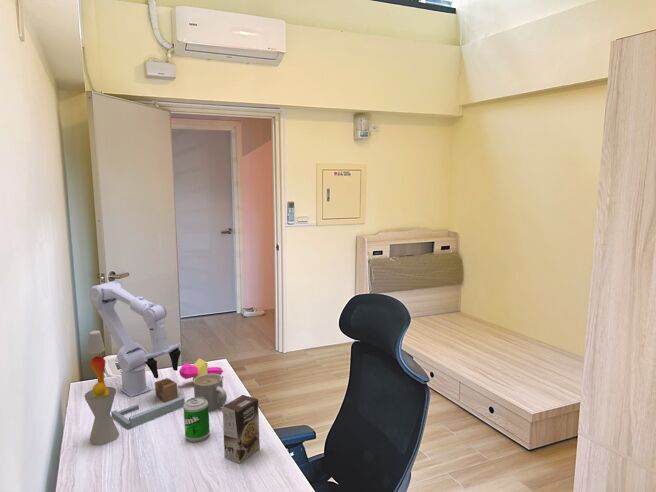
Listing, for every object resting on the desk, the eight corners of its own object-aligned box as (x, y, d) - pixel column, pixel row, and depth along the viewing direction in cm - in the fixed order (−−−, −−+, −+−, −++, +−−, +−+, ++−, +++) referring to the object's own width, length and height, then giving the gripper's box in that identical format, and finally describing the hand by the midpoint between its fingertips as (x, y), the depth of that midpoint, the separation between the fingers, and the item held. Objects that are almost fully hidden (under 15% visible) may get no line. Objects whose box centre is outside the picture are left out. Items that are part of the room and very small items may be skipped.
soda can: (202, 427, 156) (200, 393, 154) (214, 436, 151) (212, 401, 149) (180, 436, 151) (178, 401, 149) (192, 446, 146) (190, 409, 144)
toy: (226, 383, 191) (226, 357, 194) (184, 383, 179) (185, 355, 182) (213, 385, 197) (214, 360, 201) (172, 386, 186) (173, 359, 189)
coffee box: (240, 464, 136) (237, 411, 134) (223, 457, 140) (221, 406, 137) (260, 448, 144) (259, 398, 141) (244, 442, 147) (242, 393, 145)
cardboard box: (155, 397, 178) (154, 379, 177) (168, 392, 182) (167, 375, 180) (165, 403, 173) (164, 385, 172) (177, 398, 177) (176, 380, 176)
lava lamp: (90, 433, 154) (80, 329, 148) (120, 427, 157) (111, 325, 151) (87, 447, 145) (76, 338, 140) (119, 441, 148) (109, 334, 143)
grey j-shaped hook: (111, 417, 163) (111, 409, 163) (167, 395, 179) (167, 388, 178) (127, 429, 155) (126, 420, 155) (184, 406, 171) (184, 398, 170)
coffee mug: (190, 405, 171) (188, 379, 169) (214, 396, 178) (213, 371, 176) (209, 418, 162) (207, 391, 160) (234, 408, 168) (232, 382, 167)
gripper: (145, 345, 166) (152, 382, 167) (182, 333, 176) (189, 368, 177) (136, 343, 171) (143, 379, 172) (173, 331, 181) (179, 365, 182)
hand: (166, 373), depth 175 cm, fingers open, 7 cm apart
